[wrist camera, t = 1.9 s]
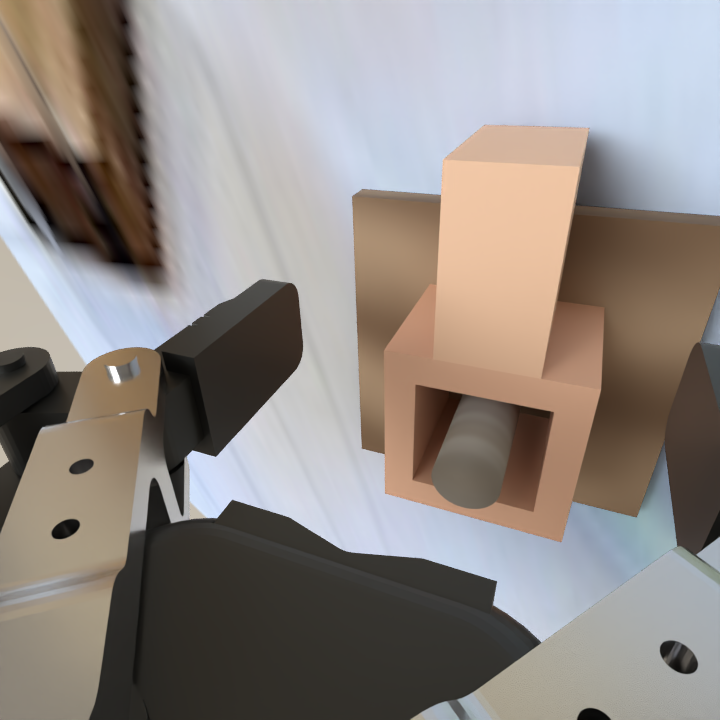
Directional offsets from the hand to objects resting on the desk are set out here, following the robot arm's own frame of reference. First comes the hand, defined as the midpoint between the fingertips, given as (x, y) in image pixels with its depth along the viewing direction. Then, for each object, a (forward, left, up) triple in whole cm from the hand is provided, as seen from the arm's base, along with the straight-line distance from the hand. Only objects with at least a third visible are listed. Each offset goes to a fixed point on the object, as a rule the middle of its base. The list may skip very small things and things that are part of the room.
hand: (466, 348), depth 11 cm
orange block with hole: (+3, 0, -8) cm, 9 cm away
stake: (+5, 0, -9) cm, 11 cm away
